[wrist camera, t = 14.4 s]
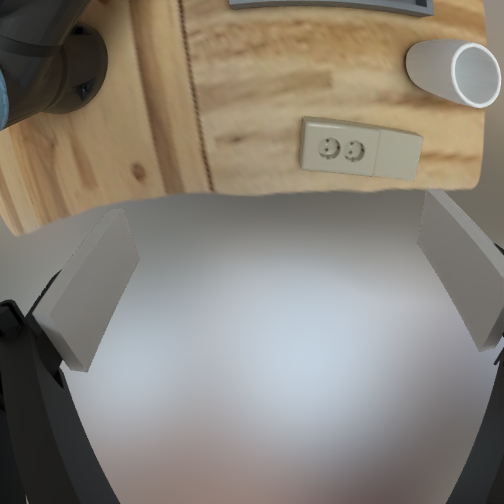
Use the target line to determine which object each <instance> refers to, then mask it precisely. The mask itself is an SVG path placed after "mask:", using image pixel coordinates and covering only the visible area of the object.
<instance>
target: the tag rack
mask: <svg viewBox="0 0 504 504" xmlns="http://www.w3.org/2000/svg"><path fill="white" fill-rule="evenodd" d="M229 4H230V6H231V7H232V9H242V8H254V7H271V6H332V7H348V8H360V9H370V10H378V11H386V12H393V13H399V14H405V15H411V16H417V17H426V16H433V15H434V11H433V0H229Z"/></svg>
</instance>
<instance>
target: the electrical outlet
mask: <svg viewBox="0 0 504 504" xmlns="http://www.w3.org/2000/svg"><path fill="white" fill-rule="evenodd" d="M422 142H423V137H422V136H421V135H419V134H417V133H415V132H410V131H405V130H400V129H394V128H389V127H383V126H377V125H371V124H364V123H357V122H350V121H343V120H335V119H326V118H317V117H306V116H304V117H303V120H302V132H301V143H300V154H299V163H300V166H301V169H302V170H309V171H321V172H332V173H342V174H352V175H361V176H370V177H372V176H380V177H388V178H395V179H403V180H410V181H414V179H415V175H416V171H417V166H418V162H419V157H420V152H421V147H422Z"/></svg>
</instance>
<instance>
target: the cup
mask: <svg viewBox="0 0 504 504" xmlns="http://www.w3.org/2000/svg"><path fill="white" fill-rule="evenodd" d="M406 68H407V72H408V75H409V77H410V79H411V80H412V81H413V82H414V83H415V85H417V86H418V87H420V88H421V89H423V90H425V91H428V92H430V93H432V94H435V95H437V96H440V97H442V98H445V99H447V100H450V101H453V102H456V103H459V104H463V105H467V106H472V107H477V108H483V107H486V106H488V105H490V104H492V103H493V101H494V100H495V99H496V98H497V96H498V94H499V92H500V87H501V75H500V69H499V66H498V63H497V61H496V59H495V58H494V56H493V55H492V53H490V51H488V49H487V48H485V47H483V46H482V45H480V44H476V43H473V42H468V41H463V40H455V39H436V40H428V41H422V42H418V43H416V44H414V45H413V46H412V47H411V48H410V49H409V51H408V53H407V56H406Z"/></svg>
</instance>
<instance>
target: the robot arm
mask: <svg viewBox="0 0 504 504" xmlns="http://www.w3.org/2000/svg"><path fill="white" fill-rule="evenodd" d="M90 1H91V0H0V131H1V130H3V129H5V128H7V127H9V126H11V125H13V124H15V123H17V122H19V121H21V120H23V119H26V118H28V117H30V116H32V115H34V114H37V113H39V112H46V113H52V114H63V113H68V112H71V111H73V110H76V109H78V108H80V107H82V106H84V105H85V104H87V103H88V102H89V101H90V100H91V99H92V98H93V97H94V96H95V95H96V94H97V92H98V91H99V89H100V87H101V85H102V83H103V81H104V78H105V75H106V71H107V61H108V59H107V50H106V46H105V43H104V41H103V39H102V37H101V36H100V34H99V33H98V32H97V31H96V30H95V29H94V28H92V27H91V26H89V25H87V24H84V23H78V22H77V21H78V19H79V18H80V16H81V15H82V13H83V12H84V10H85V9H86V7H87V6H88V4H89V3H90ZM417 243H418V245H419V246H420V248H421V249H422V251H423V253H424V254H425V256H426V257H427V259H428V261H429V262H430V264H431V265H432V267H433V269H434V270H435V272H436V273H437V275H438V277H439V278H440V280H441V282H442V283H443V285H444V287H445V289H446V290H447V292H448V294H449V296H450V297H451V299H452V301H453V303H454V304H455V306H456V308H457V310H458V312H459V314H460V315H461V317H462V319H463V321H464V323H465V325H466V327H467V329H468V331H469V332H470V335H471V336H472V338H473V340H474V342H475V344H476V347H477V348H478V351H479V352H481V351H485V350H489V349H493V348H495V347H496V346H497V344H498V342H499V340H500V339H501V337H502V335H503V337H504V250H503V249H502V248H501V247H499V246H498V245H497V244H495V243H492V241H491V240H490V239H489V238H488V237H487V236H486V235H485V234H484V233H483V232H482V230H481V229H480V228H479V227H478V226H477V225H476V224H475V223H474V222H473V221H472V220H471V219H470V218H469V217H468V215H467V214H466V213H465V212H464V211H462V209H461V208H460V207H459V206H458V205H457V204H456V203H455V202H454V201H453V200H452V199H451V198H450V197H449V196H448V195H447V194H446V193H445V192H443V191H442V190H441V189H426V195H425V201H424V208H423V215H422V220H421V225H420V231H419V236H418V241H417ZM139 260H140V258H139V255H138V252H137V249H136V246H135V243H134V240H133V237H132V234H131V231H130V227H129V224H128V220H127V217H126V214H125V211H124V208H117V209H110V210H108V212H107V213H106V214H105V215H104V216H103V218H102V219H101V220H100V221H99V223H98V224H97V225H96V226H95V227H94V229H93V230H92V231H91V232H90V234H89V235H88V236H87V237H86V239H85V240H84V241H83V242H82V244H81V245H80V246H79V248H78V249H77V250H76V252H75V253H74V254H73V255H72V257H71V258H70V260H69V261H68V262H67V264H66V265H65V266H64V268H63V269H62V270H60V271H59V272H58V273H57V274H56V275H54V277H52V279H51V280H50V281H49V283H48V284H47V285H46V288H44V290H43V291H42V293H41V296H39V297H38V298H37V300H36V301H35V303H34V304H33V306H32V307H31V309H30V310H29V312H28V314H27V315H26V317H24V315H23V314H22V312H21V311H20V309H19V307H18V306H17V304H16V302H15V301H13V300H5V301H3V302H0V504H27V503H26V496H27V500H28V502H29V504H120V502H119V501H118V499H117V497H116V495H115V494H114V492H113V490H112V488H111V486H110V484H109V482H108V480H107V478H106V476H105V474H104V472H103V470H102V468H101V466H100V464H99V462H98V460H97V458H96V456H95V454H94V451H93V449H92V447H91V445H90V442H89V440H88V438H87V435H86V433H85V431H84V428H83V426H82V423H81V421H80V418H79V416H78V413H77V411H76V408H75V405H74V402H73V400H72V397H71V394H70V391H69V388H68V385H67V382H66V379H65V376H64V373H63V372H62V370H61V369H60V367H59V366H60V364H61V362H62V360H64V361H65V363H66V364H67V366H68V367H69V368H70V370H74V371H81V372H88V370H89V367H90V365H91V362H92V360H93V358H94V356H95V353H96V351H97V349H98V346H99V344H100V342H101V339H102V337H103V335H104V332H105V330H106V328H107V326H108V324H109V321H110V319H111V317H112V315H113V313H114V311H115V309H116V306H117V304H118V302H119V300H120V297H121V296H122V294H123V292H124V290H125V288H126V285H127V284H128V282H129V279H130V278H131V275H132V274H133V272H134V270H135V268H136V266H137V264H138V262H139ZM498 361H500V363H499V367H498V371H497V375H496V379H495V382H494V386H493V390H492V393H491V396H490V400H489V403H488V406H487V409H486V412H485V415H484V418H483V421H482V424H481V427H480V430H479V432H478V435H477V437H476V440H475V443H474V445H473V447H472V450H471V453H470V455H469V457H468V459H467V461H466V464H465V466H464V468H463V471H462V473H461V475H460V477H459V479H458V481H457V483H456V485H455V487H454V489H453V491H452V493H451V495H450V497H449V499H448V501H447V502H446V504H504V348H503V349H502V351H501V353H500V354H499V356H498V357H497V359H496V361H495V362H494V365H496V364H497V363H498ZM25 494H26V495H25Z"/></svg>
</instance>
